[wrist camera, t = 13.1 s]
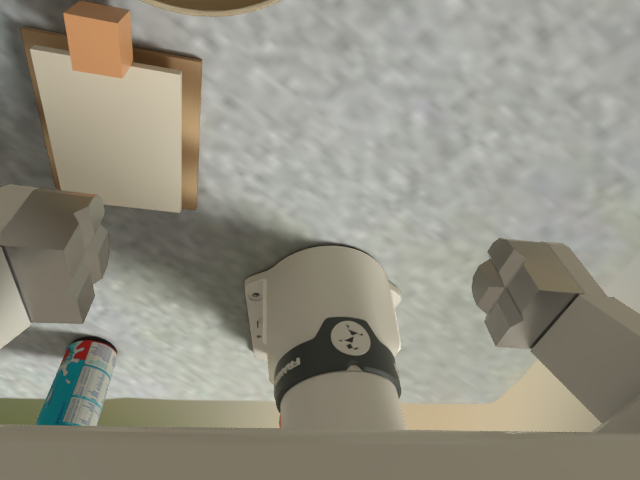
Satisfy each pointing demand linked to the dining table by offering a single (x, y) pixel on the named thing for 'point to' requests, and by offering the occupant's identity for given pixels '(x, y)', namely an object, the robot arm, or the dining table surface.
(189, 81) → the mat
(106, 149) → the lid
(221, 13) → the planter bowl
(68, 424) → the beverage can
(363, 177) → the dining table surface
